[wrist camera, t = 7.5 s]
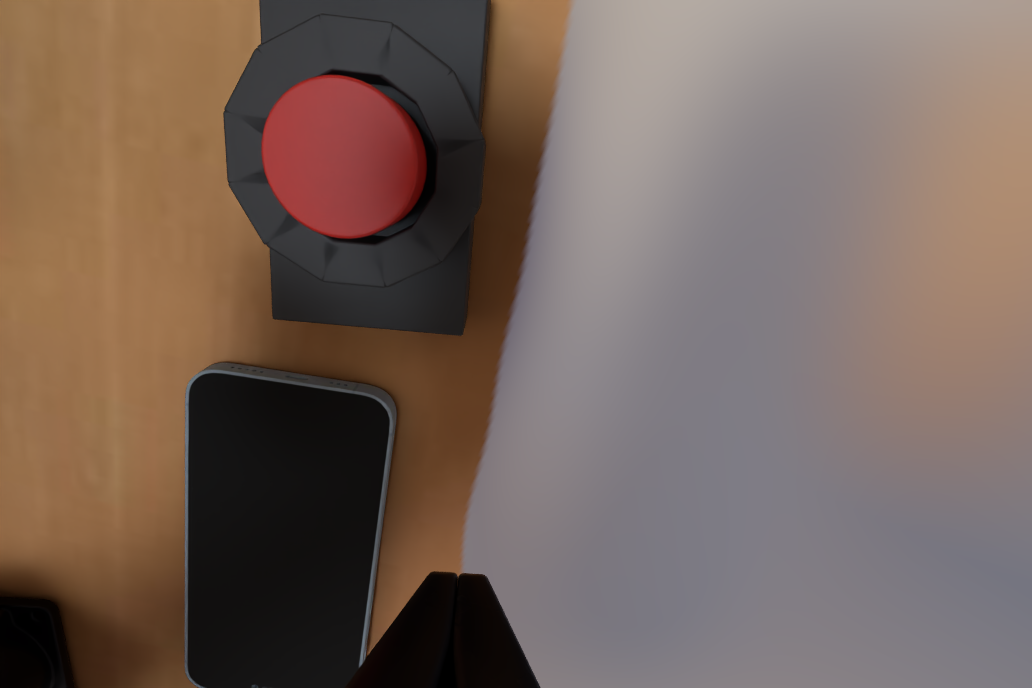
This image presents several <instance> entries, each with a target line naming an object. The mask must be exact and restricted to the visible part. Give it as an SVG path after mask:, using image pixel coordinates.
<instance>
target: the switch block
mask: <svg viewBox="0 0 1032 688" xmlns="http://www.w3.org/2000/svg"><path fill="white" fill-rule="evenodd" d="M259 1H260V26H261V44H260V45H259V46H258V48H256V49H255V50H254V52H253V54H252V56H251V58H250V60H249V62H248V64H247V66H246V68H245V70H244V72H243V74H242V76H241V77H240V79H239V81H238V83H237V85H236V87H235V89H234V91H233V93H232V95H231V97H230V99H229V101H228V103H227V105H226V106H225V111H224V113H223V115H224V130H225V146H226V162H227V178H228V182H229V186H230V188H231V190H232V191H233V193H234V195H235V196H236V198H237V200H238V201H239V203H240V205H241V206H242V208H243V210H244V211H245V213H246V215H247V216H248V218H249V220H250V221H251V223H252V225H253V226H254V228H255V230H256V231H257V233H258V235H259V236H260V238H261V240H262V241H263V243H264V244H267V246H268V247H269V248H270V267H271V291H272V316H273V319H278V320H289V321H300V322H311V323H323V324H334V325H345V326H356V327H368V328H379V329H390V330H402V331H413V332H424V333H435V334H447V335H458V336H462V335H463V333H464V328H465V323H466V319H467V309H468V296H469V283H470V270H471V257H472V244H473V231H474V218H475V215H476V213H477V212H478V210H479V208H480V205H481V201H482V189H483V176H484V164H485V151H486V144H485V139H484V137H483V134H482V132H481V127H482V114H483V100H484V87H485V74H486V61H487V48H488V35H489V22H490V9H491V0H259ZM321 75H343V76H348V77H352V78H355V79H358V80H361V81H364V82H366V83H368V84H370V85H372V86H373V87H375V88H376V89H378V90H379V91H381V92H382V93H384V94H385V95H387V96H388V97H390V98H391V99H393V100H394V101H395V102H397V103H398V104H399V105H400V106H401V107H402V108H403V109H404V110H405V111H406V112H407V113H408V114H409V115H410V117H411V118H412V120H413V121H414V122H415V124H416V126H417V128H418V130H419V132H420V134H421V137H422V139H423V142H424V146H425V150H426V156H427V175H426V181H425V185H424V188H423V191H422V193H421V196H420V198H419V199H418V201H417V203H416V204H415V206H414V207H413V209H412V210H411V211H410V212H409V213H408V214H407V215H406V216H405V217H404V218H402V219H401V220H400V221H398V222H397V223H395V224H393V225H391V226H389V227H387V228H385V229H383V230H382V231H380V232H377V233H375V234H372V235H370V236H366V237H361V238H353V239H343V238H335V237H330V236H326V235H323V234H320V233H318V232H315V231H313V230H311V229H309V228H308V227H306V226H304V225H303V224H301V223H300V222H299V221H297V220H296V219H295V218H294V217H292V216H291V215H290V214H289V213H288V212H287V211H286V210H285V208H284V207H283V206H282V205H281V204H280V202H279V201H278V199H277V198H276V196H275V195H274V193H273V191H272V189H271V187H270V185H269V183H268V180H267V177H266V175H265V171H264V167H263V162H262V153H261V149H262V136H263V130H264V126H265V123H266V120H267V118H268V115H269V113H270V111H271V109H272V108H273V106H274V105H275V103H276V102H277V101H278V99H279V98H280V97H281V96H282V95H283V94H284V93H285V92H286V91H287V90H289V89H290V88H291V87H293V86H294V85H296V84H298V83H299V82H301V81H304V80H306V79H309V78H312V77H316V76H321Z"/></svg>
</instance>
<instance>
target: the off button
mask: <svg viewBox="0 0 1032 688" xmlns="http://www.w3.org/2000/svg"><path fill="white" fill-rule="evenodd" d="M261 153H262V162H263V167H264V171H265V175H266V177H267V180H268V183H269V185H270V187H271V189H272V191H273V193H274V195H275V196H276V198H277V199H278V201H279V202H280V204H281V205H282V206H283V207H284V208H285V210H286V211H287V212H288V213H289V214H290V215H291V216H292V217H294V218H295V219H296V220H297V221H299V222H300V223H301V224H303V225H304V226H306V227H308V228H309V229H311V230H313V231H315V232H318V233H320V234H323V235H326V236H330V237H335V238H343V239H353V238H361V237H366V236H370V235H372V234H375V233H377V232H380V231H382V230H383V229H385V228H387V227H389V226H391V225H393V224H395V223H397V222H398V221H400V220H401V219H402V218H404V217H405V216H406V215H407V214H408V213H409V212H410V211H411V210H412V209H413V207H414V206H415V204H416V203H417V201H418V199H419V198H420V196H421V193H422V191H423V188H424V185H425V181H426V175H427V156H426V150H425V146H424V142H423V139H422V137H421V134H420V132H419V130H418V128H417V126H416V124H415V122H414V121H413V120H412V118H411V117H410V115H409V114H408V113H407V112H406V111H405V110H404V109H403V108H402V107H401V106H400V105H399V104H398V103H397V102H395V101H394V100H393V99H391V98H390V97H388V96H387V95H385V94H384V93H382V92H381V91H379V90H378V89H376V88H375V87H373V86H372V85H370V84H368V83H366V82H364V81H361V80H358V79H355V78H352V77H348V76H343V75H321V76H316V77H312V78H309V79H306V80H304V81H301V82H299V83H298V84H296V85H294V86H293V87H291V88H290V89H289V90H287V91H286V92H285V93H284V94H283V95H282V96H281V97H280V98H279V99H278V101H277V102H276V103H275V105H274V106H273V108H272V109H271V111H270V113H269V115H268V118H267V120H266V123H265V126H264V130H263V136H262V149H261Z"/></svg>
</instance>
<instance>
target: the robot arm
mask: <svg viewBox="0 0 1032 688" xmlns="http://www.w3.org/2000/svg"><path fill="white" fill-rule="evenodd" d="M457 582H458V584H457ZM0 688H75V686H74V681H73V676H72V671H71V667H70V662H69V657H68V652H67V647H66V643H65V638H64V633H63V628H62V623H61V619H60V614H59V609H58V607H57V606H56V605H55V604H54V603H53V602H51V601H49V600H44V599H26V598H8V597H0ZM344 688H540V686H539V684H538V682H537V680H536V677H535V675H534V673H533V671H532V669H531V667H530V665H529V663H528V661H527V659H526V657H525V655H524V653H523V650H522V648H521V646H520V644H519V642H518V640H517V638H516V636H515V634H514V632H513V630H512V628H511V626H510V624H509V621H508V619H507V617H506V615H505V613H504V611H503V609H502V607H501V605H500V603H499V601H498V599H497V597H496V594H495V592H494V590H493V588H492V586H491V584H490V582H489V580H488V578H487V577H486V576H485V575H483V574H468V573H462V574H460V575H459V577H458V576H457V574H456V573H452V572H436V571H434V572H431V573H430V574H429V575H428V576H427V577H426V578H425V580H424V581H423V582H422V584H421V585H420V586H419V588H418V589H417V590H416V592H415V593H414V595H413V596H412V597H411V599H410V600H409V601H408V603H407V604H406V605H405V607H404V608H403V609H402V611H401V612H400V613H399V615H398V616H397V617H396V619H395V620H394V621H393V623H392V624H391V626H390V627H389V628H388V630H387V631H386V632H385V634H384V635H383V636H382V638H381V639H380V640H379V642H378V643H377V644H376V646H375V647H374V648H373V650H372V651H371V652H370V654H369V655H368V656H367V658H366V659H365V661H364V662H363V663H362V665H361V666H360V667H359V669H358V670H357V671H356V673H355V674H354V675H353V677H352V678H351V679H350V681H349V682H348V683H347V685H346V686H345V687H344Z"/></svg>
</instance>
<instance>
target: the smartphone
mask: <svg viewBox="0 0 1032 688" xmlns="http://www.w3.org/2000/svg"><path fill="white" fill-rule="evenodd" d="M396 417H397V412H396V406H395V403H394V401H393V400H392V398H391V397H390V396H389V395H388V394H387V393H386V392H385V391H384V390H382V389H380V388H378V387H375V386H372V385H368V384H362V383H355V382H349V381H342V380H336V379H330V378H323V377H317V376H310V375H304V374H298V373H291V372H285V371H279V370H272V369H266V368H259V367H253V366H247V365H240V364H234V363H216V364H213V365H210V366H209V367H207V368H206V369H204V370H202V371H201V372H199V373H198V374H196V375H195V376H194V377H193V378H192V379H191V380H190V381H189V383H188V385H187V388H186V395H185V672H186V675H187V677H188V679H189V680H190V681H191V682H192V683H193V684H194V685H195V686H197V687H199V688H344V687H345V686H346V685H347V683H348V682H349V681H350V679H351V678H352V677H353V675H354V674H355V673H356V671H357V670H358V669H359V667H360V666H361V665H362V663H363V662H364V661H365V657H366V650H367V648H366V647H367V639H368V633H369V625H370V618H371V617H370V616H371V609H372V602H373V595H374V586H375V578H376V571H377V563H378V556H379V548H380V540H381V533H382V525H383V518H384V510H385V502H386V495H387V487H388V480H389V472H390V464H391V457H392V449H393V442H394V434H395V427H396Z"/></svg>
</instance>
